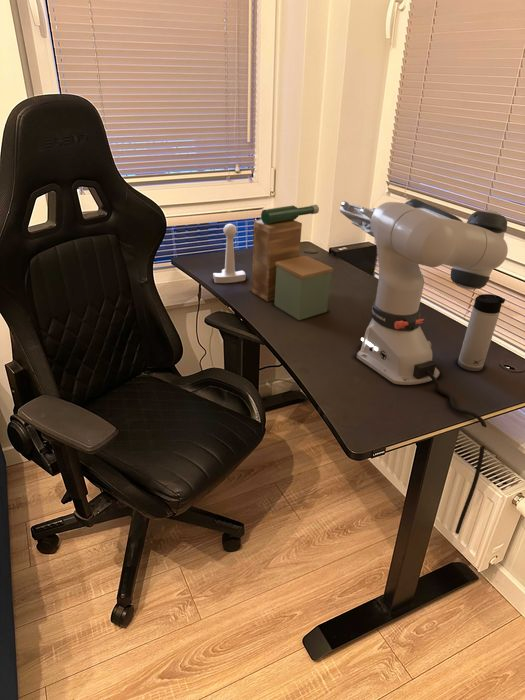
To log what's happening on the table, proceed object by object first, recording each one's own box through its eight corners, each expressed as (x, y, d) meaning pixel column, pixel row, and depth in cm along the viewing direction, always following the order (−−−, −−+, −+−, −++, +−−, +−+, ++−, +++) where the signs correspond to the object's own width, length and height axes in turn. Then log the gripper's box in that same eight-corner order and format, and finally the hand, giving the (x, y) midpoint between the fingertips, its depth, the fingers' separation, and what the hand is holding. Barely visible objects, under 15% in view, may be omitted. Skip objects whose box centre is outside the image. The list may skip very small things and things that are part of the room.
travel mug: (479, 374, 130) (501, 304, 119) (454, 366, 133) (473, 296, 123) (486, 365, 134) (508, 296, 124) (462, 356, 137) (481, 288, 127)
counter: (328, 311, 158) (333, 268, 151) (298, 320, 152) (302, 275, 145) (301, 297, 167) (305, 255, 160) (272, 305, 161) (275, 261, 154)
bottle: (269, 225, 153) (269, 211, 151) (260, 222, 156) (261, 208, 154) (320, 217, 164) (321, 203, 162) (311, 214, 167) (312, 200, 165)
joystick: (215, 283, 174) (215, 226, 164) (210, 275, 180) (210, 220, 170) (246, 281, 177) (248, 224, 167) (240, 273, 183) (241, 218, 173)
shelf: (296, 293, 169) (302, 223, 157) (267, 301, 163) (271, 228, 151) (280, 284, 175) (284, 216, 163) (251, 291, 169) (253, 220, 157)
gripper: (392, 238, 171) (370, 223, 161) (350, 223, 185) (327, 208, 176) (401, 221, 170) (380, 204, 160) (358, 207, 184) (336, 191, 175)
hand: (352, 206), depth 168 cm, fingers open, 8 cm apart
